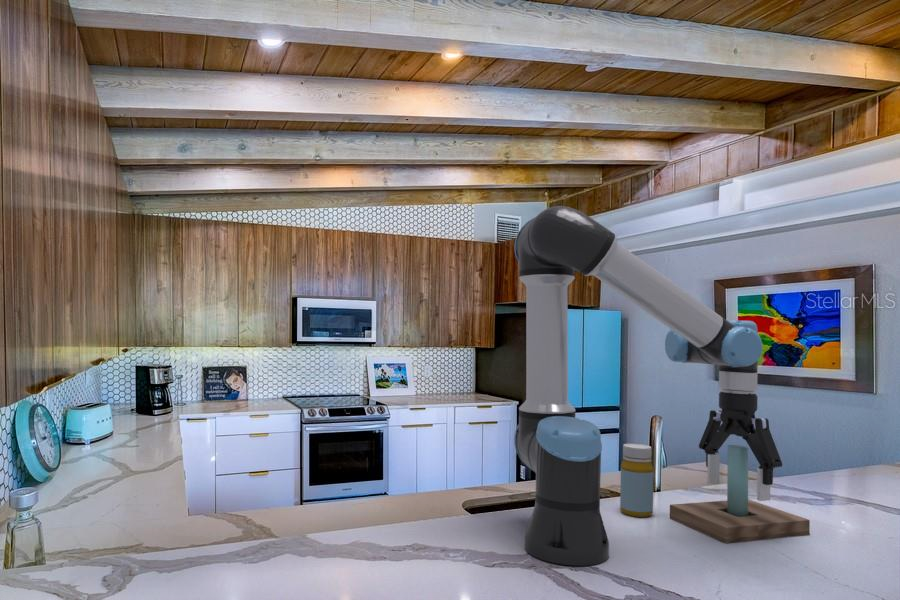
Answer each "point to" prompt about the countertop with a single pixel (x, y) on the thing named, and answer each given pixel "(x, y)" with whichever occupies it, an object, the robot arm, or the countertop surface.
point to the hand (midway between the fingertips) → (737, 491)
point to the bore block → (739, 521)
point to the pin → (737, 480)
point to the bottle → (636, 481)
